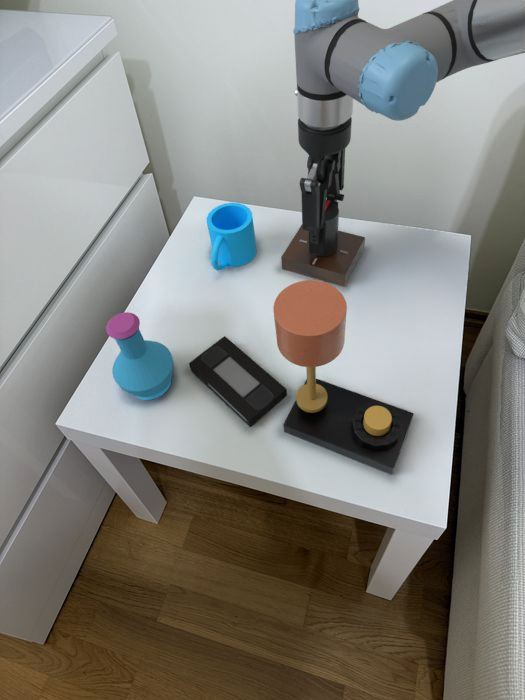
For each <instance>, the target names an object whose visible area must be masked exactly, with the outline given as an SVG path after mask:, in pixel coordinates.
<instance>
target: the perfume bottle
mask: <svg viewBox="0 0 525 700" xmlns="http://www.w3.org/2000/svg"><path fill="white" fill-rule="evenodd" d="M106 323H107V324H106V326H105V331H106V335H108V336H109V337H110V338H111V339H113V340H115V342H116V344H117V346H118V348H119V349H120V352H119V353H118V355H117V356H116V358H115V360H114V362H113V364H112V369H111V370H112V371H111V373H112V377H113V380H114V382H115V383H116V384H117V385H118V387H119V388H120V389H121V390H123V391H124V392H126V393H128V394H130V395H132V396H134V397H135V398H137V399H139V400H143V401H151V400H156V399H158V398H160V397H162V395H164V394H165V393H166V392H167V391H168V390H169V388H170V386H171V384H172V376H173V371H174V359H173V355H172V352H171V351H170V349H169V348H168V347H167V346H166V345H165V344H163V343H162V342H158V341H155V340H148V339H147V340H146V339H144V337H143V334H142V332H141V330H140V326H141V325H140V324H141V322H140V318H139V316H138V315H136V314H135V313H133V312H129V311H128V312H127V311H125V312H120V313H117V314H115V315H113V316H112V317H111V318H110V319H109V320H108V322H106Z"/></svg>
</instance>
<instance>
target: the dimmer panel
mask: <svg viewBox="0 0 525 700" xmlns="http://www.w3.org/2000/svg"><path fill="white" fill-rule="evenodd" d="M365 244H366V237H365V236H362V235H359V234H354V233H350V232H346V231H344V230H343V231H342V230H339V229H338V248H337V250H336V252H335V253H333V254H332V255H329V256H324V257H322V256H317V255H315V254H313V253H310V252H309V231H305V230H303V229H302V224H301V225H300V226H299V228H298V230H297V231H296V233H295V235H294V236H293V237H292V239H291V241H290V243H289V244H288V246H287V247H286V249H285V250H284V252H283V253H282V255H281V257H280V260H281V269H282V270H284V271H287V272H291V273H294V274H298V275H301V276H305V277H309V278H312V279H314V280H315V279H316V280H317V281H322V282H325V283H328V284H331V285H336V286H340V287H343V288H344V287H346V285H347V283H348V281H349V279H350V277H351V276H352V274H353V271H354V269H355V268H356V266H357V264H358V262H359V260H360V258H361V256H362V254H363V252H364V251H365Z"/></svg>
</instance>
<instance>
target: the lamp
mask: <svg viewBox="0 0 525 700" xmlns="http://www.w3.org/2000/svg"><path fill="white" fill-rule="evenodd" d="M347 310H348V305H347V301H346V298H345V297H344V295H343V294H342V292H341V291H340V290H339V289H338V288H336V287H335V286H334V285H333V284H331V283H329V282H325V281H322V280H317V279H316V280H315V279H308V280H306V279H305V280H300V281H297V282H294V283H291V284H289V285H288V286H286V287H284V288H283V289H282V290H281V291H280V292H279V293H278V294H277V296H276V298H275V299H274V303H273V318H274V328H275V337H276V345H277V348H278V351H279V353H280V354H281V356H283V358H284V359H285V360H286V361H288V362H290V363H292V364H293V365H296V366H298V367H304V368H306V379H307V384H304V383H303V384H302V385H301V386H300V387H299V388H298V389H297V390H296V393H295V401H296V402H297V404H298V406H299V407H300V408H301V409H302V410H303V411H306V412H310V413H314V412H318V411H320V410H322V409H323V408H324V407H325V406H326V404H327V399H328V395H327V392H326V390H325V389H324V388H323V387H322V386H321V385H319V384H316V379H317V368H318V367H322V366H325V365H327V364H329V363H331V362H333V361H334V360H335V359H336V358H338V357H339V356H340V354H341V353H342V351H343V349H344V346H345V342H346V341H345V339H346V325H347Z"/></svg>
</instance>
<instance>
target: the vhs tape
mask: <svg viewBox="0 0 525 700" xmlns="http://www.w3.org/2000/svg"><path fill="white" fill-rule="evenodd" d="M188 366H189V368H190V370H191V372H192V373H193V374H194V375H195V376H196V377H197V378H198V380H200V381H201V382H202V383H203V384H204V385H205V386H206V387H207V388H208V389H209V390H211V391H212V392H213V394H214V395H216V396H217V397H218V398H219V399H220V400H221V401H222V402H223V403H224V404H225V405H227V407H228V408H229V409H230V410H232V411H233V413H235V414H236V415H237V416H238V417H239V418H240V420H242V421H243V422H244V423H245V424H246V425H247V426H248V427H250V428H251V427H252V426H253V425H255V424H256V423H257V422H258V421H260V420H261V419H262V418H263V417H264V416H265V415H267V413H269V412H270V411H271V410H272V409H274V407H275V406H277V405H278V404H279V403H281V401H283V400H284V399H285V398H286V397H287V396H288V391H287V388H286V387H285V386H284V385H283V384H281V383H280V382H279V381H278V380H277V379H275V377H273V376H272V375H271V374H270V373H269V372H268V371H266V370H265V369H264V368H263V367H262V366H260V365H259V364H258V363H257V362H256V361H254V359H252V358H251V357H250V356H249V355H248V354H247V353H245V352H244V351H243V350H242V349H241V348H239V347H238V346H237V345H236V344H235V343H234V342H233V341H232V340H230V339H229V338H228V337H226V335H224V336H223V337H221V338H220V339H219V340H217V341H216V342H214V343H213V344H211V346H209V347H208V348H207V349H205V350H204V351H203V352H202V353H200V354H199V355H198V356H196V357H195V358H194V359H192V360H191V361H190V362H189V363H188Z"/></svg>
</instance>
